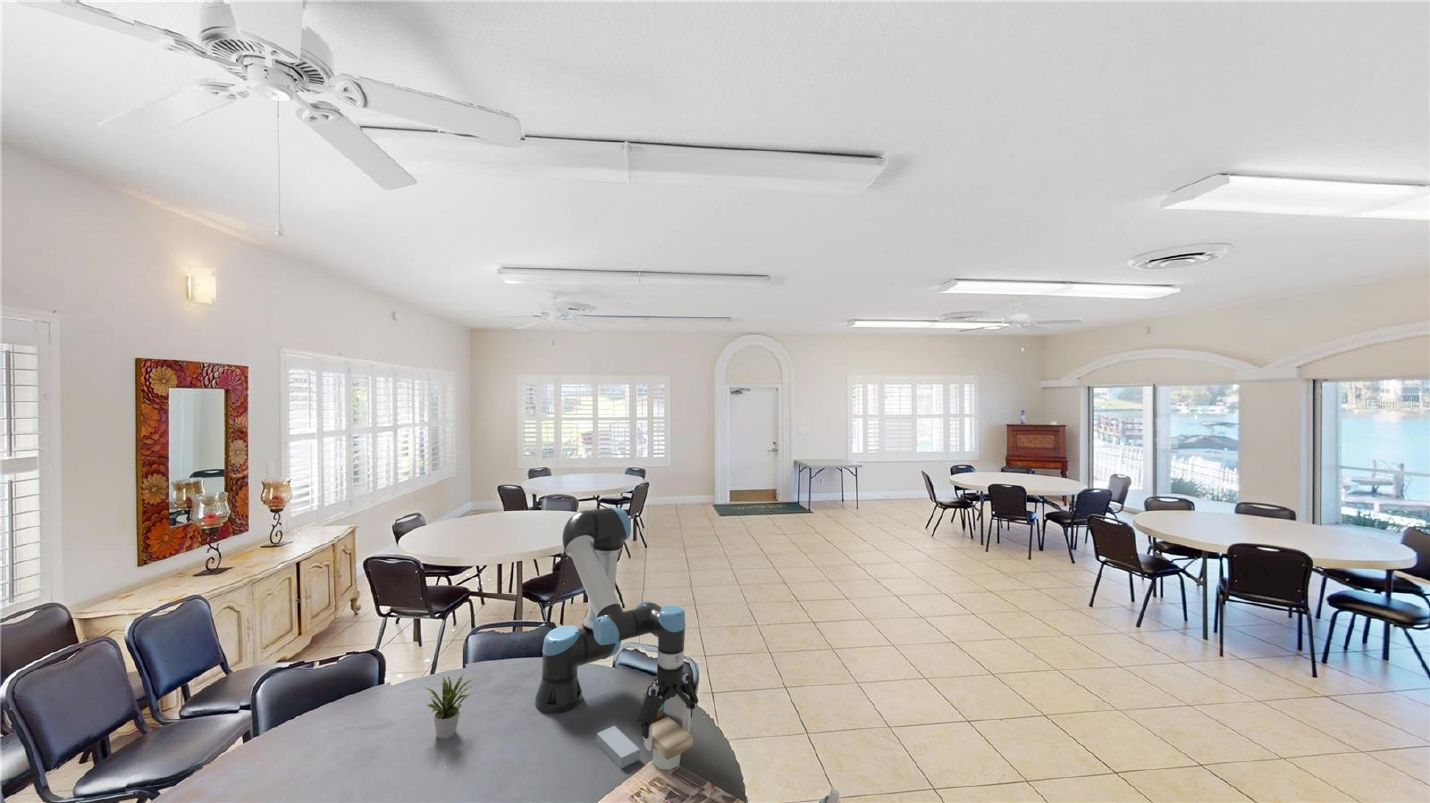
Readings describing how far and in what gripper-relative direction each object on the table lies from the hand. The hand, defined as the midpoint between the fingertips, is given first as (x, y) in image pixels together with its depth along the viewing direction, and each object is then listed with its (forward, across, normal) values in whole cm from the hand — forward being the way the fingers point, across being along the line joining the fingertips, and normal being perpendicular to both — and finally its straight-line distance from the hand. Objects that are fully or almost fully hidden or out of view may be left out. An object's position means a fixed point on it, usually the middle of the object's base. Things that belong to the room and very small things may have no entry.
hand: (667, 738), depth 147 cm
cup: (+6, 0, 0) cm, 6 cm away
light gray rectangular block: (+6, -9, +12) cm, 16 cm away
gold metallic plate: (+1, 0, 0) cm, 1 cm away
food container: (+6, +10, +19) cm, 22 cm away
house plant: (+6, -44, +50) cm, 67 cm away
